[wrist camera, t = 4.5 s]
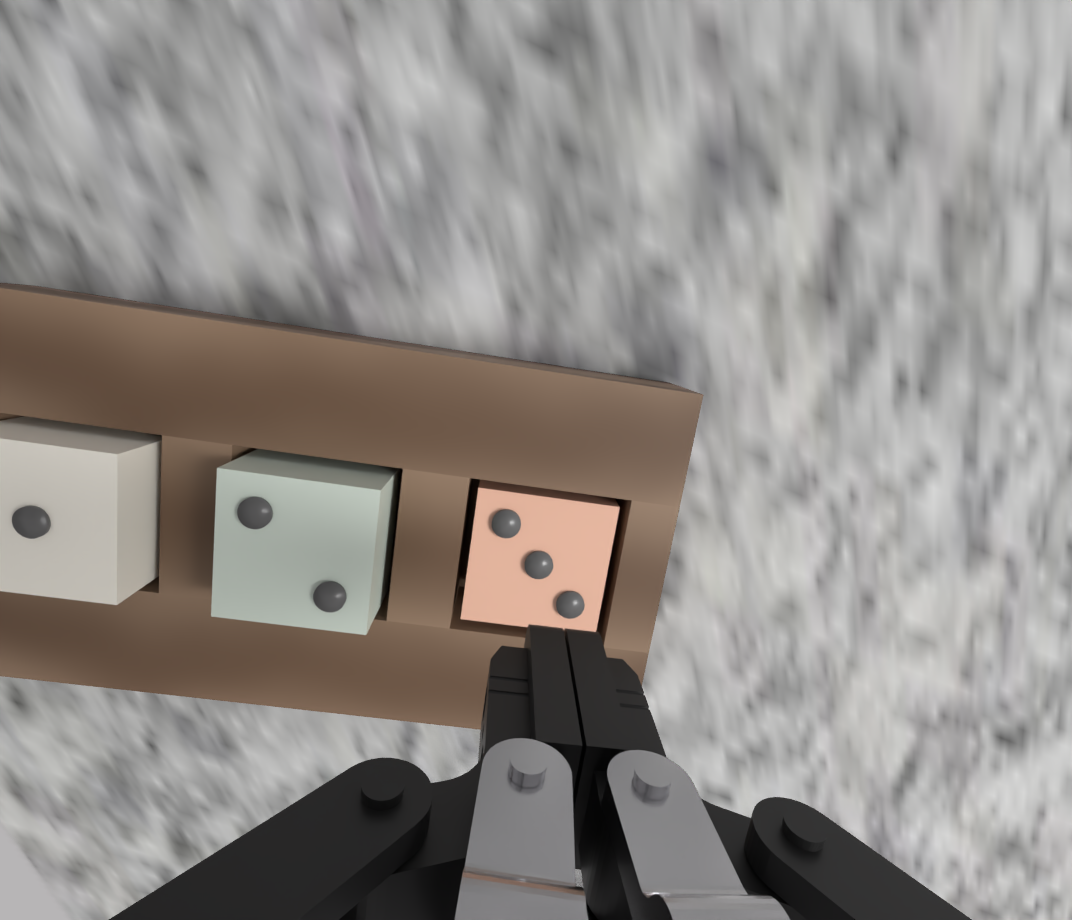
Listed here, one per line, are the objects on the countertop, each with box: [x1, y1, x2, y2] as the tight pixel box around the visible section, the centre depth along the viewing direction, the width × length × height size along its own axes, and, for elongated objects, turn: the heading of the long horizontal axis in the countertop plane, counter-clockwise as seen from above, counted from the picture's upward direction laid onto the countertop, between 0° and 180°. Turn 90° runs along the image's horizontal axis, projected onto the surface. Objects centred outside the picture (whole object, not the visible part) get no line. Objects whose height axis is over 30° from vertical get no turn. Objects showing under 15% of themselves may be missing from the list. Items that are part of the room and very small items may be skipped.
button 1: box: [0, 416, 162, 605], centre depth 18 cm, size 4×4×3 cm
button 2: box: [211, 449, 401, 635], centre depth 18 cm, size 4×4×3 cm
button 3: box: [461, 480, 620, 632], centre depth 20 cm, size 4×4×3 cm
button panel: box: [0, 283, 703, 729], centre depth 20 cm, size 12×22×4 cm, turn 81°
